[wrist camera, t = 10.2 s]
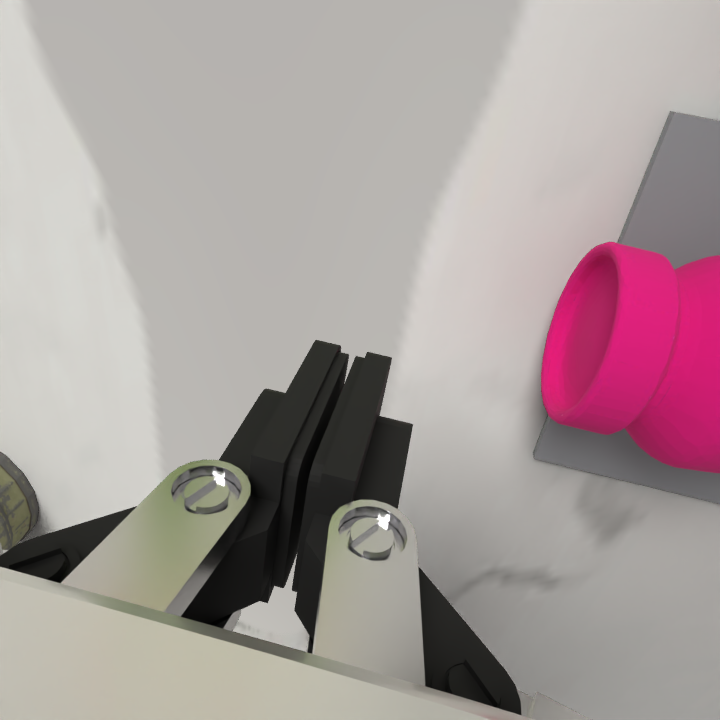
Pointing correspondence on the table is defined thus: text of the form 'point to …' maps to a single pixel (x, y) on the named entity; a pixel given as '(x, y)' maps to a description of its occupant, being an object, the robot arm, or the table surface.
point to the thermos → (15, 504)
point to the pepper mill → (639, 353)
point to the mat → (680, 246)
